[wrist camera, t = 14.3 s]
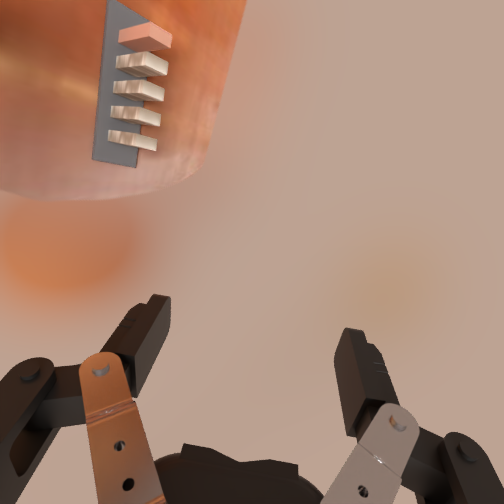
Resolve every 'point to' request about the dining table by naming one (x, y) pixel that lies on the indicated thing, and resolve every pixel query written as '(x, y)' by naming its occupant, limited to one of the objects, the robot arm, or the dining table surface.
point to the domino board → (102, 148)
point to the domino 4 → (132, 139)
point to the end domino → (145, 38)
